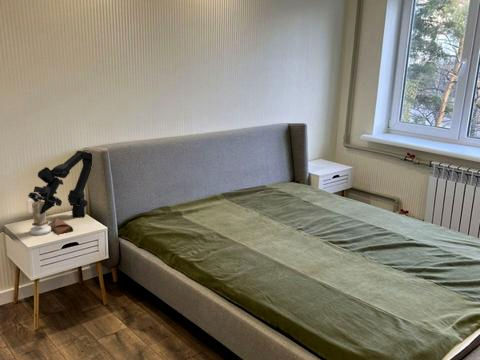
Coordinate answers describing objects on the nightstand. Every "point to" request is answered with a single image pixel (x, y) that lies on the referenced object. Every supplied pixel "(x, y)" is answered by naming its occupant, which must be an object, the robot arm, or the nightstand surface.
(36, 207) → the beige container
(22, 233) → the nightstand surface
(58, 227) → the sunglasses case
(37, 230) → the stand
